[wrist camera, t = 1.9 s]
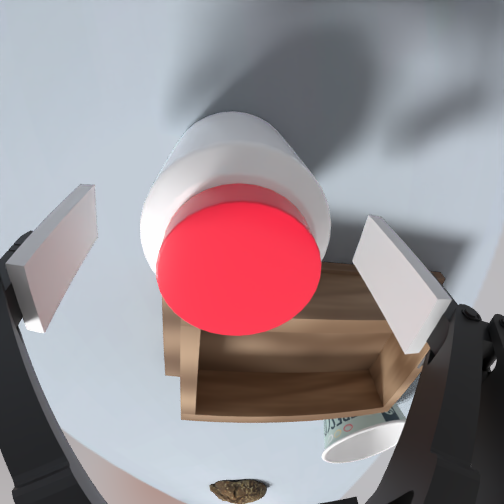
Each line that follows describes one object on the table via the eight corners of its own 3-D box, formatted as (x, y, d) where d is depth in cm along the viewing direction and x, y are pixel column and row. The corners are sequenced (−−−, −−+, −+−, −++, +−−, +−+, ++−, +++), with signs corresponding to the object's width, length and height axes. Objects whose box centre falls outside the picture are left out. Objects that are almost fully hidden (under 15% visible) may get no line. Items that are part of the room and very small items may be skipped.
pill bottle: (312, 188, 21) (380, 298, 11) (214, 244, 22) (212, 376, 13) (252, 87, 17) (287, 109, 8) (145, 157, 19) (77, 252, 9)
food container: (365, 424, 42) (376, 459, 36) (297, 424, 39) (305, 466, 33) (414, 379, 36) (431, 418, 30) (343, 376, 33) (358, 425, 27)
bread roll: (268, 487, 59) (271, 505, 55) (217, 492, 59) (218, 510, 55) (259, 475, 52) (262, 496, 48) (200, 480, 52) (201, 500, 48)
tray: (164, 247, 22) (149, 303, 17) (440, 272, 26) (473, 315, 21) (166, 367, 29) (161, 419, 24) (382, 369, 33) (399, 410, 28)
